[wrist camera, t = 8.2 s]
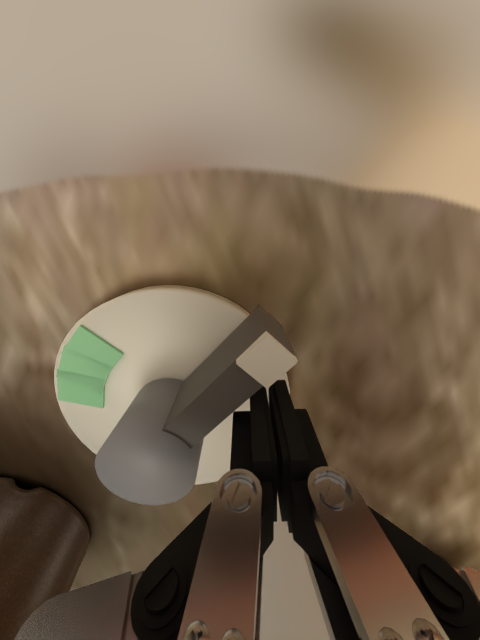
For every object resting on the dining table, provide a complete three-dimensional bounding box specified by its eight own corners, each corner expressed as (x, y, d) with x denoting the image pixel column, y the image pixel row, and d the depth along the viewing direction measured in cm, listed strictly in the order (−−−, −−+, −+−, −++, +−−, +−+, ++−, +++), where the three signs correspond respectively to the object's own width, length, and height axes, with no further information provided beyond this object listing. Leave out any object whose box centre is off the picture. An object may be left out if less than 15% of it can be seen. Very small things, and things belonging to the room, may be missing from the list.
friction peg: (179, 447, 13) (157, 517, 10) (121, 410, 12) (76, 473, 9) (299, 340, 11) (324, 385, 7) (237, 284, 10) (235, 306, 6)
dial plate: (287, 279, 11) (295, 285, 10) (283, 461, 16) (288, 485, 14) (42, 290, 12) (11, 298, 10) (105, 465, 16) (90, 489, 15)
